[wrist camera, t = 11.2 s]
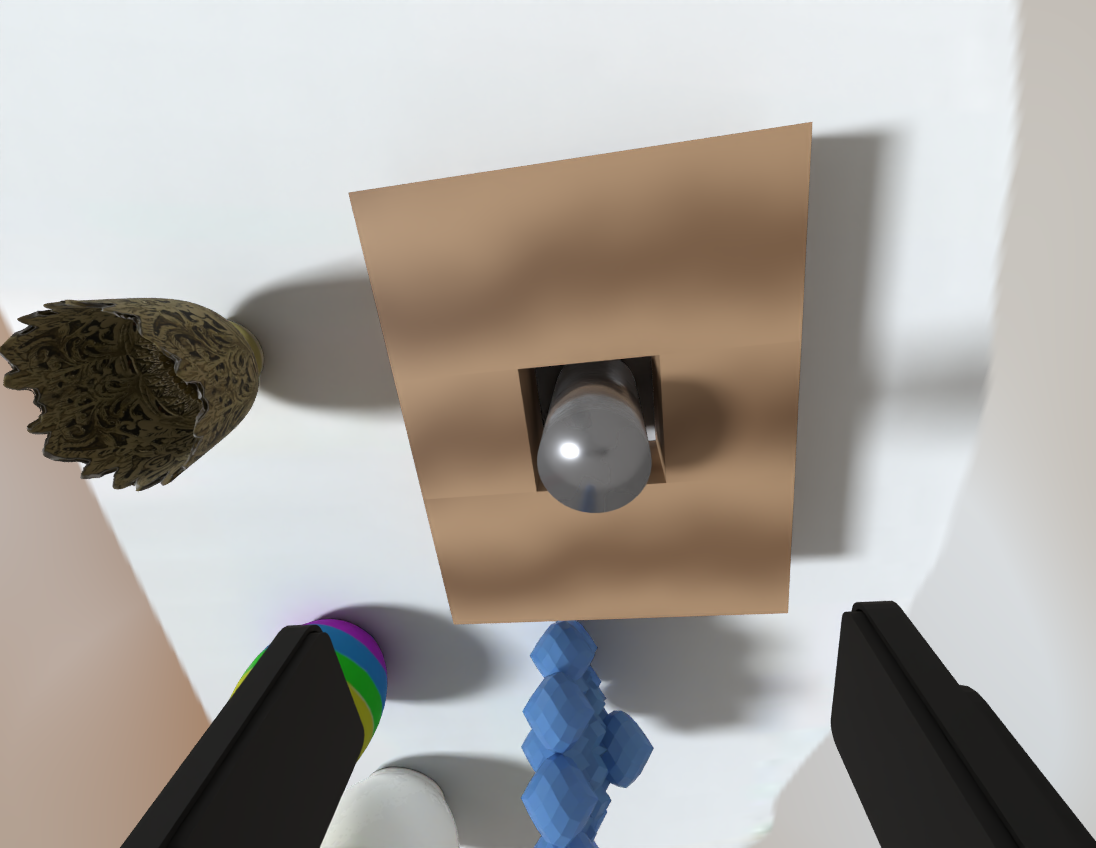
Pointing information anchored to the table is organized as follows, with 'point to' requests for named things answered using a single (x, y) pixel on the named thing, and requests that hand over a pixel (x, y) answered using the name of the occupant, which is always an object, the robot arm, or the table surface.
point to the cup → (133, 383)
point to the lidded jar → (392, 813)
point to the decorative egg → (355, 670)
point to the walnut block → (596, 335)
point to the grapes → (575, 742)
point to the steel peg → (595, 438)
